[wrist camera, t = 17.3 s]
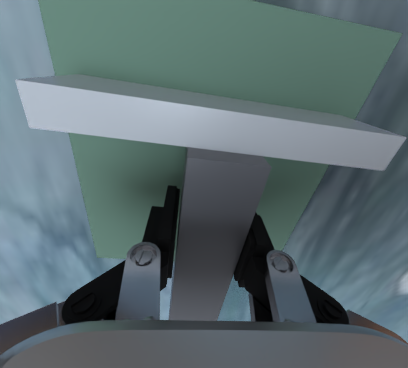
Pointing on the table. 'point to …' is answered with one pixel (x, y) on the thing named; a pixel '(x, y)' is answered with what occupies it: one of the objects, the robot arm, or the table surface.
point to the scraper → (206, 161)
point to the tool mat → (205, 92)
